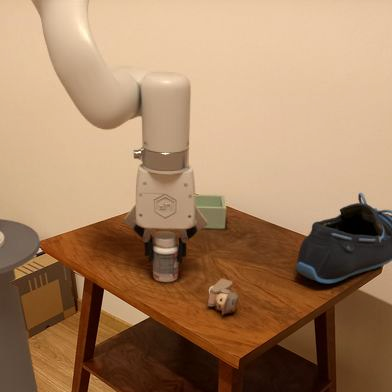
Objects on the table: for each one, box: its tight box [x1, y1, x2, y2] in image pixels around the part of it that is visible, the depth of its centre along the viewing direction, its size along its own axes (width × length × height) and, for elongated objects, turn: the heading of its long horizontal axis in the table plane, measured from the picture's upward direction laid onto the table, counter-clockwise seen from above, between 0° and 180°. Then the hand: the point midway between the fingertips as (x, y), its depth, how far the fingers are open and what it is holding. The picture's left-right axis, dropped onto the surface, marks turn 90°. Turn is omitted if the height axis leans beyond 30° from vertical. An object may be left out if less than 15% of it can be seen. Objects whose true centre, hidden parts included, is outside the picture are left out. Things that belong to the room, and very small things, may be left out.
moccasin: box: [294, 192, 392, 285], centre depth 101 cm, size 14×34×12 cm, turn 142°
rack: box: [194, 193, 227, 230], centre depth 117 cm, size 15×8×5 cm, turn 91°
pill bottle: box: [152, 230, 179, 283], centre depth 94 cm, size 5×5×8 cm
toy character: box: [207, 278, 240, 316], centre depth 87 cm, size 4×8×6 cm
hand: (165, 258), depth 94 cm, fingers closed on pill bottle, 4 cm apart
